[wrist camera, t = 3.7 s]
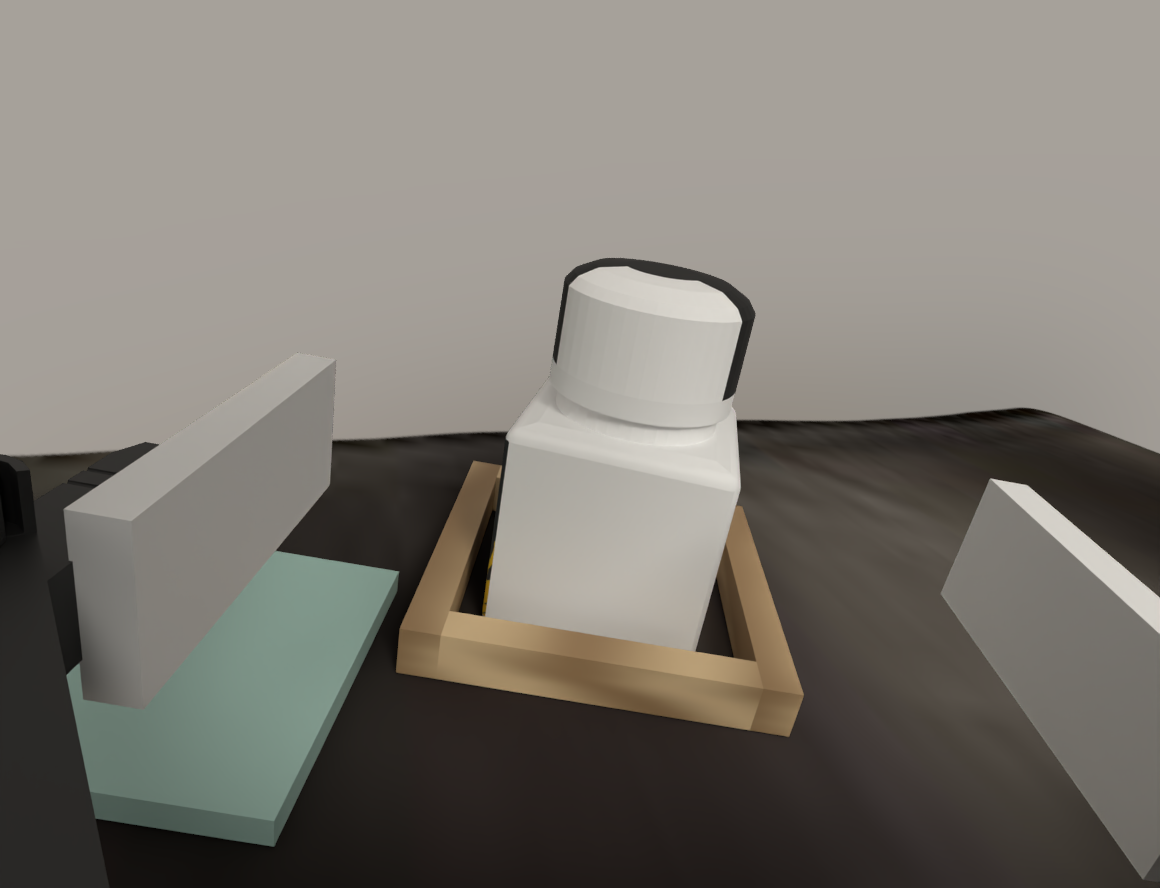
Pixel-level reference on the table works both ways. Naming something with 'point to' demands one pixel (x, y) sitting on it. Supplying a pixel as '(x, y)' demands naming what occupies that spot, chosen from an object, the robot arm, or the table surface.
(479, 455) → the table surface
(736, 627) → the oak cradle
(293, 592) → the rubber mat
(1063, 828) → the table surface
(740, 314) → the medicine bottle
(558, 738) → the table surface
